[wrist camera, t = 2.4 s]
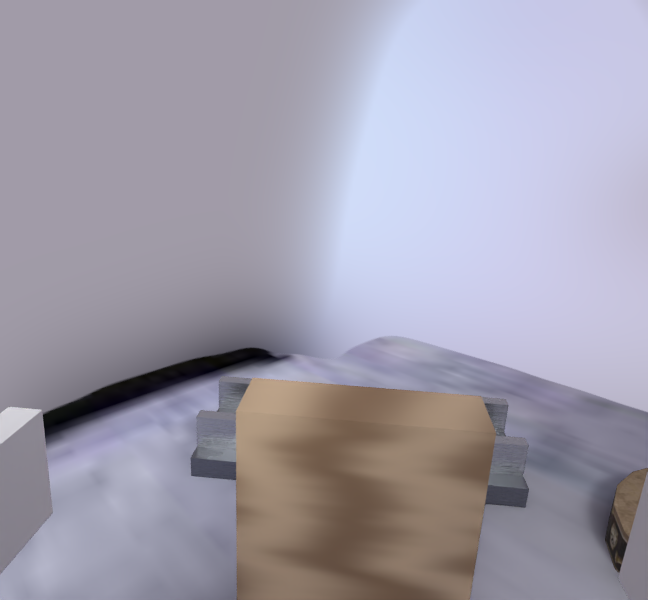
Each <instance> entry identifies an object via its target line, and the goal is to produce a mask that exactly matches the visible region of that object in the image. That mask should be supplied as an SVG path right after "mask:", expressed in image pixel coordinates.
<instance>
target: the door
mask: <svg viewBox="0 0 648 600" xmlns="http://www.w3.org/2000/svg"><path fill="white" fill-rule="evenodd" d="M495 438H496V431H495V429H494V426H493V424H492V422H491V419H490V417H489V414H488V412H487V409H486V407H485V404H484V402H483V399H482V397H481V396H471V395H459V394H446V393H434V392H422V391H409V390H397V389H385V388H372V387H360V386H347V385H335V384H323V383H310V382H298V381H286V380H273V379H261V378H252V380H251V382H250V384H249V386H248V388H247V390H246V392H245V394H244V396H243V398H242V400H241V402H240V404H239V406H238V408H237V410H236V510H237V600H470V594H471V588H472V582H473V576H474V569H475V563H476V557H477V551H478V544H479V538H480V532H481V525H482V519H483V513H484V507H485V500H486V494H487V488H488V482H489V475H490V469H491V463H492V457H493V450H494V444H495Z"/></svg>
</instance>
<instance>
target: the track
mask: <svg viewBox="0 0 648 600" xmlns="http://www.w3.org/2000/svg"><path fill="white" fill-rule="evenodd" d="M251 380H252V379H250V378H238V377H225V376H222V377H221V379H220V380H219V409H218V411H217V412H215V411H203V410H200V412H199V414H198V415H197V417H196V419H197V448H196V450H195V451H194V453H193V455H192V457H191V476H202V477H212V478H223V479H233V480H236V410H237V408H238V406H239V404H240V402H241V400H242V398H243V396H244V394H245V392H246V390H247V388H248V386H249V384H250V382H251ZM482 399H483V402H484V404H485V407H486V409H487V412H488V414H489V417H490V419H491V422H492V424H493V426H494V429H495V431H496V438H495V444H494V450H493V457H492V463H491V469H490V475H489V482H488V488H487V494H486V500H485V503H487V504H497V505H508V506H519V507H526V501H527V496H528V491H529V488H528V486H527V484H526V481H525V479H524V477H523V474H524V468H525V463H526V457H527V452H528V446H529V445H528V443H527V441H526V439H525V438H518V437H507V436H506V435H505V433H504V429H505V423H506V417H507V411H508V403H507V401H506V399H498V398H485V397H482Z"/></svg>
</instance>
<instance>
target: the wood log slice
mask: <svg viewBox="0 0 648 600" xmlns="http://www.w3.org/2000/svg"><path fill="white" fill-rule="evenodd" d="M647 472H648V468H646V469H642V470H638V471H634V472H632V473H631V474H630V475H628V476H627V477H626V478H625V479H624V480H623V481H621V482H620V483H619V484H618V485H617V489H616V493H615V497H614V501H613V505H612V509H611V513H610V517H609V522H608V528H607V533H606V538H605V541H606V544H607V546H608V549H609V552H610V555H611V558H612V561H613V564H614V567H615V569H616V570H617V572H618V573H619V572H620V569H621V565H622V562H623V558H624V555H625V551H626V547H627V544H628V540H629V537H630V533H631V529H632V526H633V522H634V519H635V515H636V511H637V508H638V504H639V501H640V497H641V493H642V490H643V486H644V483H645V479H646V475H647Z"/></svg>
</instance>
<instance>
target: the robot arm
mask: <svg viewBox="0 0 648 600" xmlns="http://www.w3.org/2000/svg"><path fill="white" fill-rule="evenodd" d="M52 513H53V510H52V500H51V491H50V481H49V472H48V462H47V453H46V443H45V434H44V424H43V415H42V410H35V409H27V408H16V407H8V408H7V409H6V410H4V411H3V412H2V413H0V574H1V573H2V572H3V571H4V570H5V568H6V567H7V566H8V565H9V564H10V562H11V561H12V560H13V559H14V558H15V557H16V555H17V554H18V553H19V552H20V551H21V550H22V548H23V547H24V546H25V545H26V544H27V543H28V541H29V540H30V539H31V538H32V537H33V536H34V534H35V533H36V532H37V531H38V530H39V528H40V527H41V526H42V525H43V524H44V523H45V521H46V520H47V519H48V518H49V517H50V516H51V514H52ZM618 579H619V581H620V583H621V585H622V587H623V588H624V590H625V592H626V594H627V596H628V598H629V599H630V600H648V472H647V475H646V479H645V483H644V486H643V490H642V493H641V497H640V501H639V504H638V508H637V511H636V515H635V519H634V522H633V526H632V529H631V533H630V537H629V540H628V544H627V547H626V551H625V555H624V558H623V562H622V565H621V569H620V572H619V576H618Z"/></svg>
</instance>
